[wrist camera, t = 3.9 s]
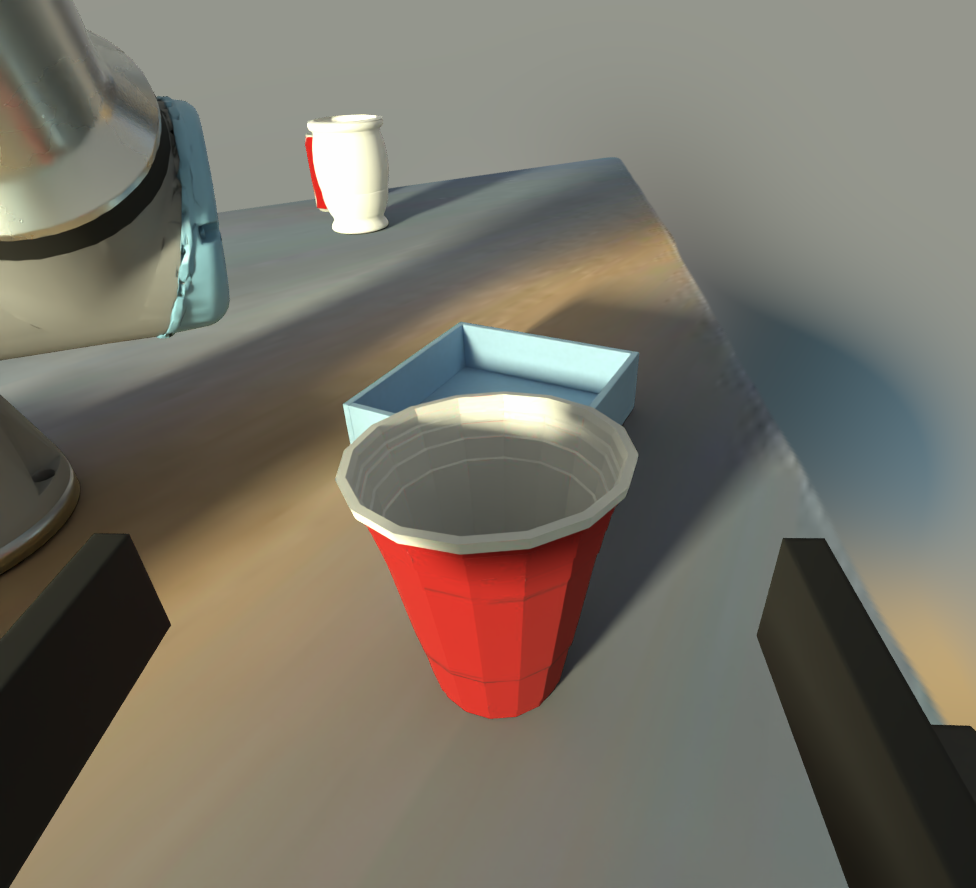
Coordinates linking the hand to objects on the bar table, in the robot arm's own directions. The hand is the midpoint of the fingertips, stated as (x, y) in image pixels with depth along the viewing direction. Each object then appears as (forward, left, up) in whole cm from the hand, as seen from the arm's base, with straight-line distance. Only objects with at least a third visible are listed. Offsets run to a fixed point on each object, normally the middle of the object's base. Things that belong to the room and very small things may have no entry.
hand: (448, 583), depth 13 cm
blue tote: (-13, +26, -15) cm, 33 cm away
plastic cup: (-4, +9, -15) cm, 18 cm away
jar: (-60, +70, -15) cm, 93 cm away
